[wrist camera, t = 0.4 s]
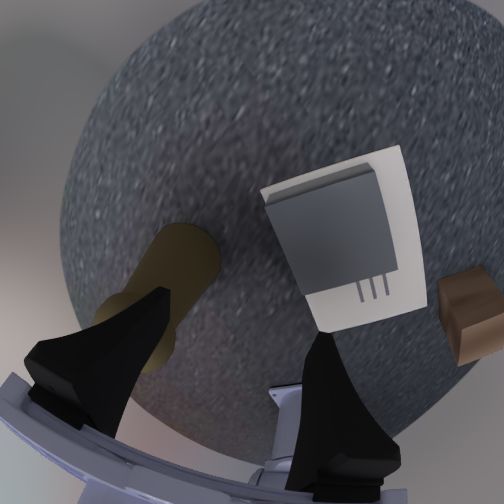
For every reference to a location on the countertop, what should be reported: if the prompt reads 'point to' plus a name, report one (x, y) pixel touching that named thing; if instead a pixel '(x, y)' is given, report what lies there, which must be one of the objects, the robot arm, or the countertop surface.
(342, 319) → the letter
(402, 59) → the countertop surface
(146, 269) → the cork
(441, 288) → the walnut block
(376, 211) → the metal block
